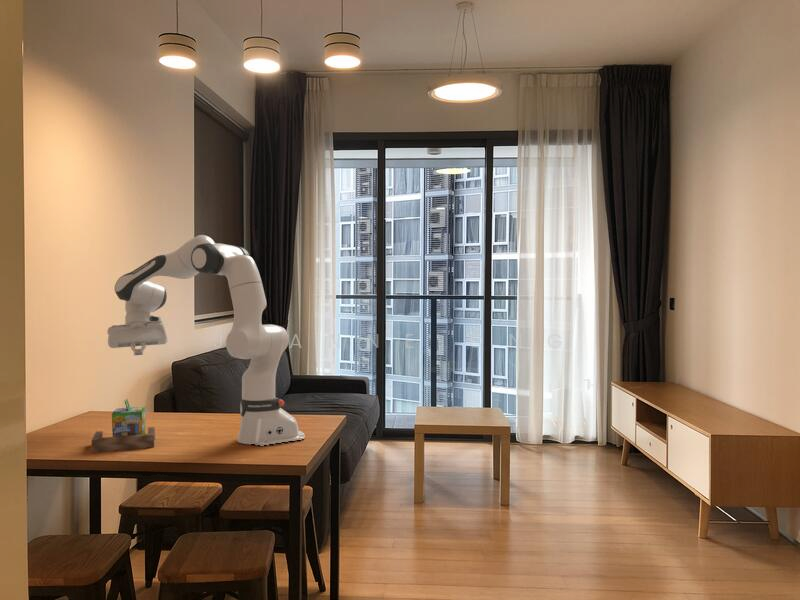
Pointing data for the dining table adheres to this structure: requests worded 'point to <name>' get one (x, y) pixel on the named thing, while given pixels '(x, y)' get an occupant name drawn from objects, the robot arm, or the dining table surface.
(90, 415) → the dining table surface
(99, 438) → the grey-brown shallow rectangular tray
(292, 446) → the dining table surface
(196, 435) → the dining table surface
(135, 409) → the chalk box
